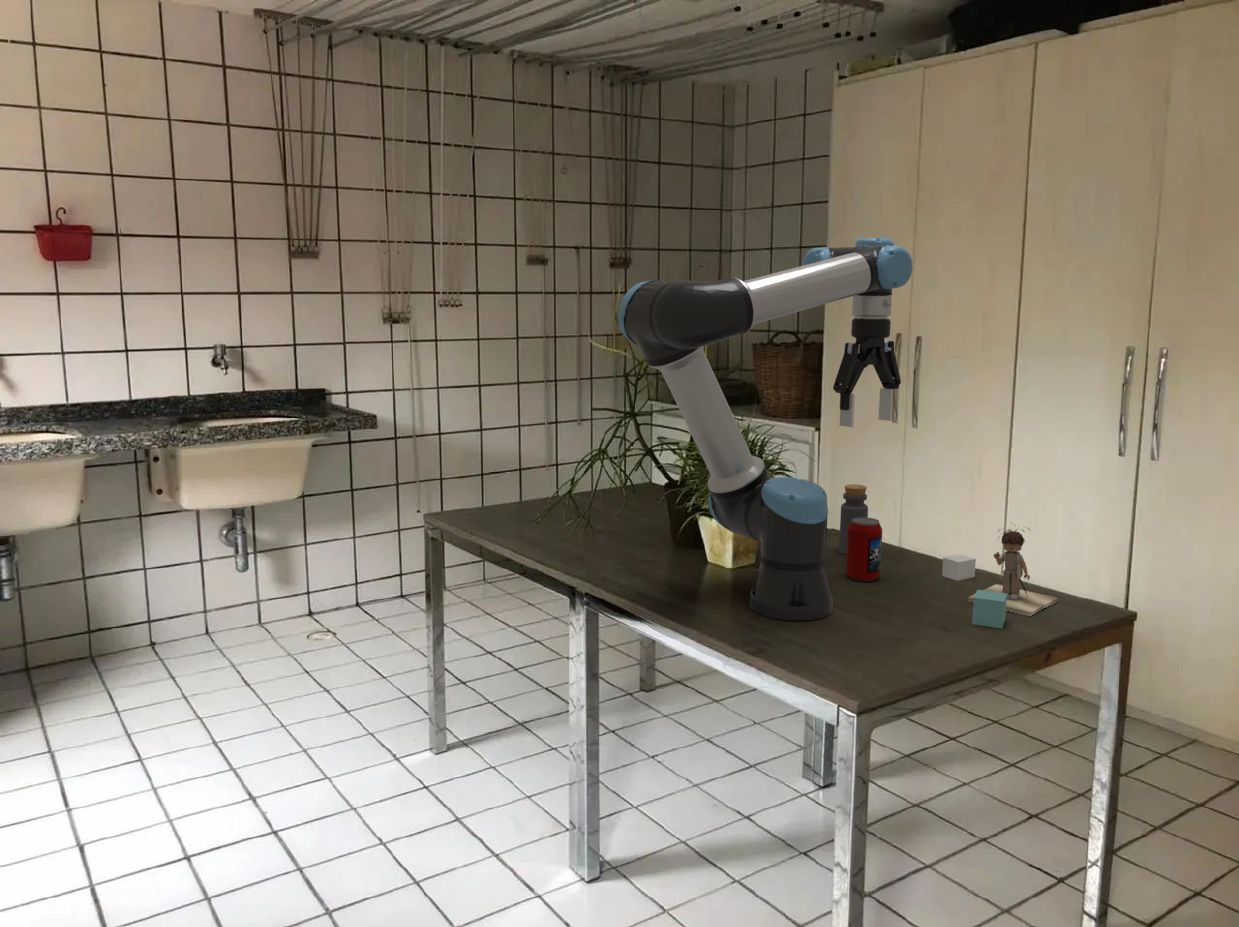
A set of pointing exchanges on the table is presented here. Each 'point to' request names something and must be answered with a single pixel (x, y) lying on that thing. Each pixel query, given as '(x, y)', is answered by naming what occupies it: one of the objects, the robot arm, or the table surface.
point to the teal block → (989, 609)
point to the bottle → (851, 511)
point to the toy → (1012, 563)
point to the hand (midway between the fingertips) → (866, 423)
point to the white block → (958, 567)
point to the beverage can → (864, 549)
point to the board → (1023, 601)
